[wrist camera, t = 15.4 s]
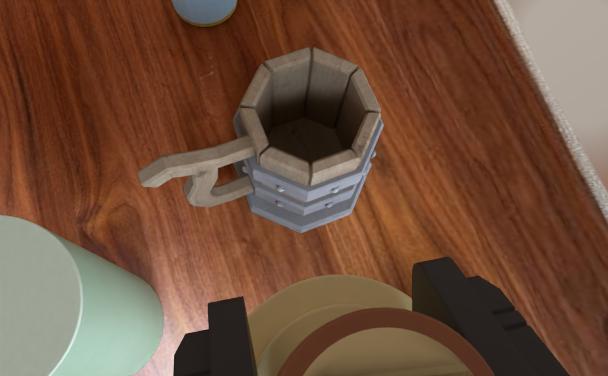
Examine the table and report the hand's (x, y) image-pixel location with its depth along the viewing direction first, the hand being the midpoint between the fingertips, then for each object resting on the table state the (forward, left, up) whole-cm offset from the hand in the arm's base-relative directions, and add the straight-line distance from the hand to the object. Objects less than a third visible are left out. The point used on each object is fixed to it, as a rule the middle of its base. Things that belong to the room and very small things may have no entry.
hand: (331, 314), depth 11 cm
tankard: (+15, +4, -40) cm, 43 cm away
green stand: (-1, +16, -39) cm, 43 cm away
